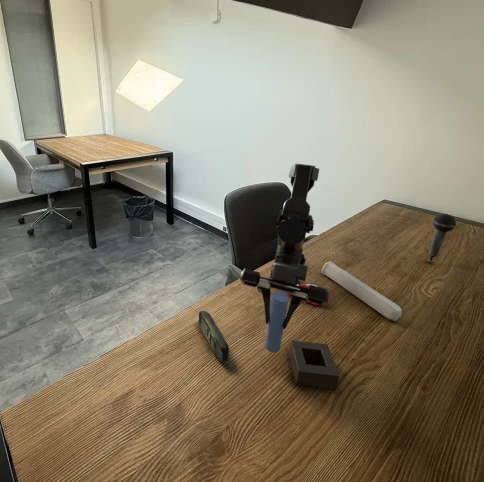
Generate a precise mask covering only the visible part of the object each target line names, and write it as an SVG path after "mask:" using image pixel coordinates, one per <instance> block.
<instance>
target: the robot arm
mask: <svg viewBox="0 0 484 482" xmlns="http://www.w3.org/2000/svg"><path fill="white" fill-rule="evenodd" d="M319 175H320V168H318V167H316V165H312V164H303V163H295V164H290V166H289V173H288V178H290V185H291V187H292V189H291V194H290V198H289V199H287V200H285V202H284V204H283V207H282V209H280V210H279V212H278V215H277V219H276V223H275V228H277V245H276V249H275V256H274V260H273V263H272V265H271V269H270V270H271V271H270V275H269V277H268V278H267V277H264V276H261V272H259V271H255V270H252V269H248V268H244V269H243V270H241V272H240V277H239V281H240V283H241V284H242V285H244V286H248V287H251V288H256V290H257V292H258V293H260V294H261V296H262V300H263V305H264V317H265V324H266V325H268V321H269V314H270V307H271V300H272V292H271V289H274V290H277V291H281V292H284V293H288V292H289V293H293V296H292V295H291V296H292V297H291V300H290V303H289V307H288V308H287V312H286V318H285V322H284V328H283V330H286V329H287V326H288V325H289V323H290V321H291V319H292V318H293V315H294V313H295V312H296V310H297V309H298V308H299V306H300V305H306V303H307V302H306V301H307V299H308V300H309V302H312V303H316V304H319V305H318V306H326V305H327V304H328V303H329V301H328V296H329V297H330V292H329V290H328V289H327V288H325V287H321V286H318V285H316V286H313V285H314V284H313V285H309V287H308V288H304V287H300V286H296V285H297V284H299V285H300V281H302V282H306V279H307V273H308V267H309V266H308V265H307V264H306V261H307V259H306V258H305V254H304V253H303V250H304V244H305V239H306V235H307V234H310V233H311V232H313V231H314V224H315V220H314V218H313V215H311V214H310V212H311V205H310V204H309V202H308V201H307V198H308V194H309V192H310V191H311V190H312V189H313V188H314V186H315V182H318V181H319ZM317 286H318V287H317ZM289 293H288V294H289Z"/></svg>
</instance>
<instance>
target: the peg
mask: <svg viewBox="0 0 484 482" xmlns="http://www.w3.org/2000/svg"><path fill="white" fill-rule="evenodd" d="M289 301H290V297H289V295H288V294H287V292H285V291H282V290H277V291H273V293H271V300H270V314H269V321H268V324H267V327H266V334H265V339H264V340H265V341H264V348H265V349H266V350H267V351H269V353H273V354H276V353H278V352H280V350H281V345H282V339H283V336H284V335H283V334H284V329H283V328H284V322H285V318H286V315H287V312H288V305H289Z"/></svg>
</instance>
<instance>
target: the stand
mask: <svg viewBox="0 0 484 482" xmlns="http://www.w3.org/2000/svg"><path fill="white" fill-rule="evenodd" d="M289 344H290V345H289V349H288V355H289V356H288V357H289V360H290V364H291V368H292V373H293V378H294V383H295V385H296V386H303V387H311V388H312V387H313V388H318V389H319V388H320V389H329V390H337V387H338V383H339V379H340V374H339V370H338V369H337V365H336V362H335V360H334V358H333V355H332V353H331V350H330V347H329V345H328V343H320V342H311V341H303V340H290V343H289ZM306 362H308V363H316V364H318V365H316V364H315V365H314V364H307V363H306Z"/></svg>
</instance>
